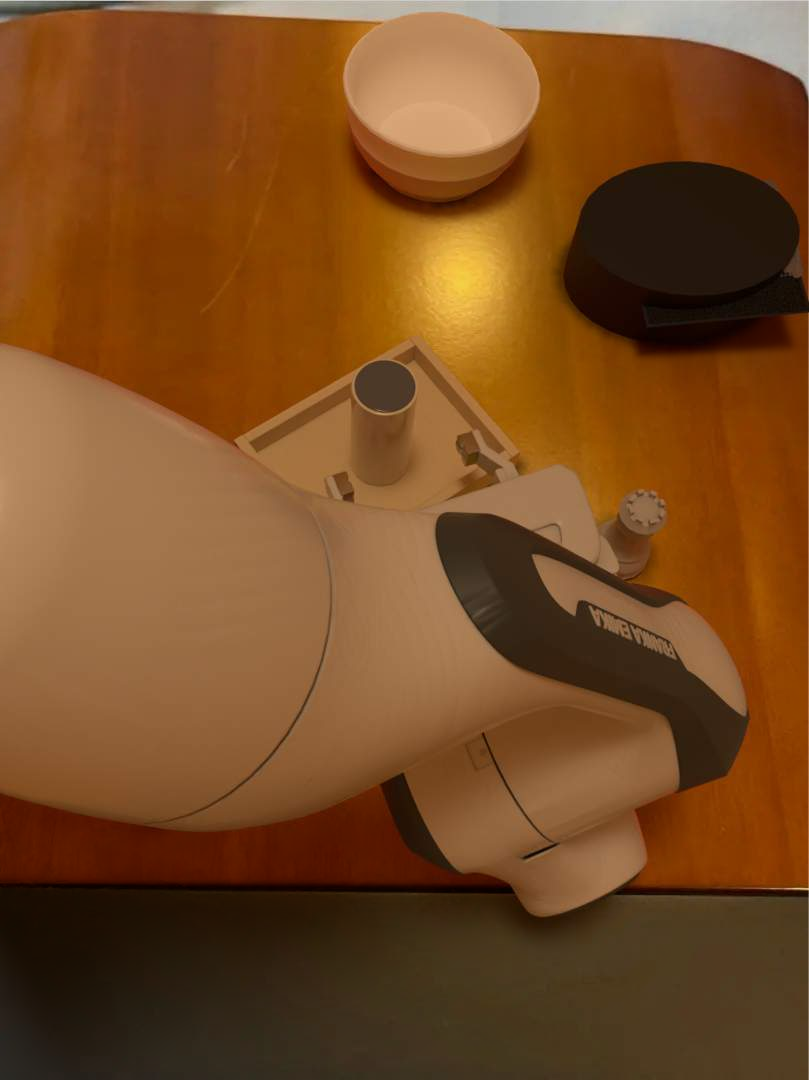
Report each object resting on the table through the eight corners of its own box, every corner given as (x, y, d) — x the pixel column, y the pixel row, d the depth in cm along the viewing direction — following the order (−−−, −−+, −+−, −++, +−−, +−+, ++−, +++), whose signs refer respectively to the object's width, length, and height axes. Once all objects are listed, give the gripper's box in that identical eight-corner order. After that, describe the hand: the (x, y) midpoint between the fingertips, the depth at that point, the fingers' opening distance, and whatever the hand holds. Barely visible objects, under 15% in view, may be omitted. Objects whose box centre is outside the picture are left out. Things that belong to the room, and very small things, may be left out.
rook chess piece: (651, 580, 72) (686, 535, 64) (590, 583, 71) (619, 538, 64) (640, 524, 73) (673, 474, 66) (581, 527, 73) (608, 477, 66)
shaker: (388, 496, 72) (395, 426, 63) (338, 466, 73) (338, 392, 64) (420, 453, 74) (431, 378, 65) (370, 424, 75) (375, 346, 66)
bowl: (361, 237, 83) (363, 165, 75) (327, 97, 89) (326, 19, 82) (544, 214, 85) (564, 142, 78) (499, 79, 91) (513, 2, 84)
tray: (333, 586, 70) (333, 572, 68) (236, 457, 74) (233, 439, 71) (515, 468, 75) (520, 451, 72) (415, 352, 78) (417, 332, 76)
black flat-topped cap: (549, 225, 86) (561, 163, 79) (753, 207, 86) (783, 144, 79) (577, 370, 80) (593, 317, 74) (794, 349, 81) (831, 295, 74)
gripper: (644, 569, 61) (550, 387, 66) (328, 683, 57) (253, 480, 61) (618, 604, 66) (533, 434, 71) (329, 710, 62) (260, 523, 67)
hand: (401, 456), depth 66 cm, fingers open, 8 cm apart
